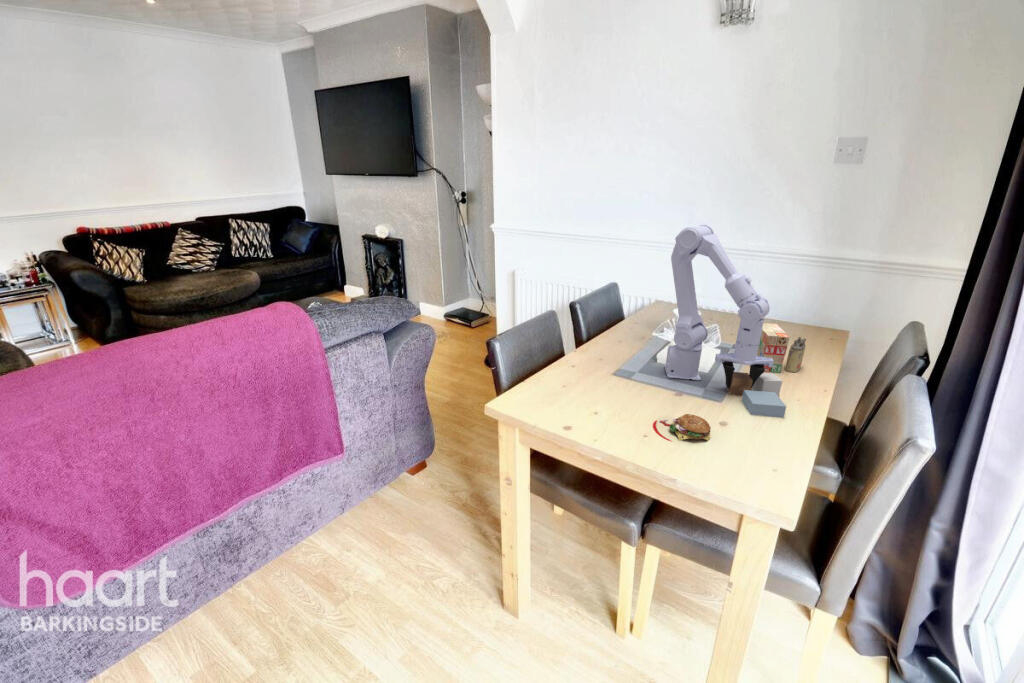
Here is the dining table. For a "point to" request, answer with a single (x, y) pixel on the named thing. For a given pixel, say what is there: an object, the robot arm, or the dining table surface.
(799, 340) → the lighter
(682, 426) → the hamburger
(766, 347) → the stack of blocks
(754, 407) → the base block
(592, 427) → the dining table surface
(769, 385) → the grey cube
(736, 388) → the walnut cube
